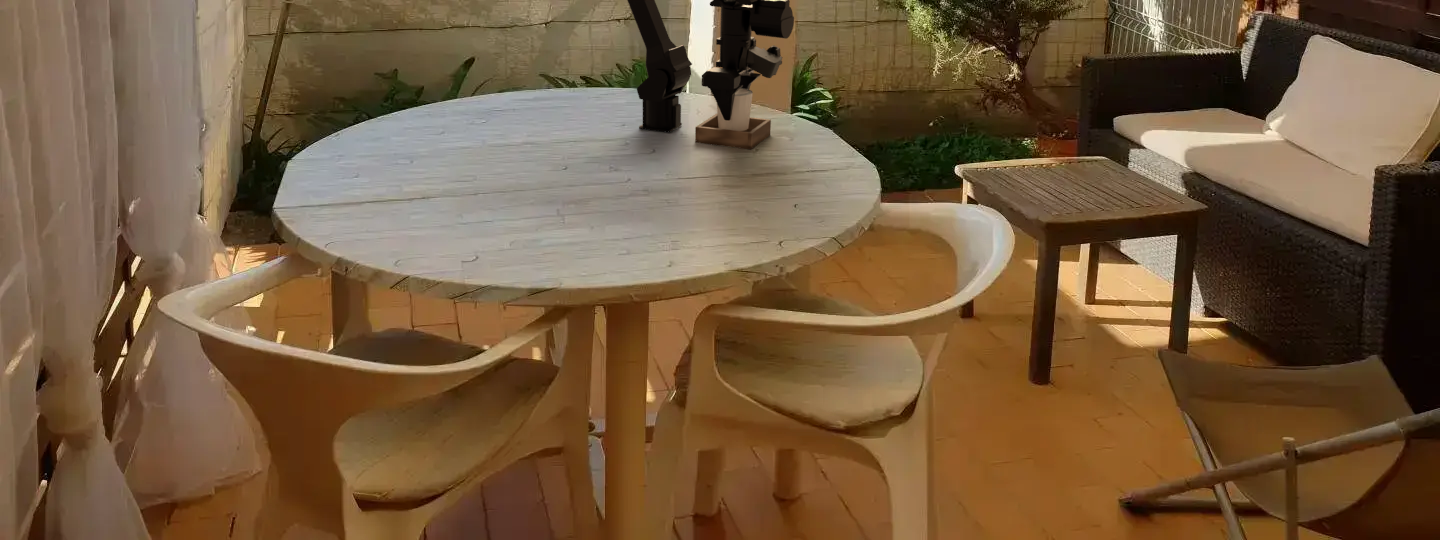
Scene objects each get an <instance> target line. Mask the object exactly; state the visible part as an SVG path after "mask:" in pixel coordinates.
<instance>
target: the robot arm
mask: <svg viewBox="0 0 1440 540" xmlns="http://www.w3.org/2000/svg"><path fill="white" fill-rule="evenodd" d="M626 1H627V3H628V6H629V9H630V11H631V13H632V14H631V15H632V16H633V19H634V21H635V24H636V26H637V29H638V32H639V34H640V36H641V40H642V42H643V44H644V47H645V69H646V74H647V77H646V78H645V79H644V81H643V82H641V84H640V85H638V86H637V88H636V92H637V95H638V98H639V99H640V100H642V124H640V125H639V126H638V129H639V130H644V131H653V132H662V133H671V132H673V131H675V130H676V129H678V128H680V127H682V126H683V125H682V124H683V123H682V105H681V103H680V102H679V101H680V100H679V99H680V98H679V97H680V96H679V94H682V92H683V89H684V86H685V85H687V84H688V82H689V81H690V78H691V76H692V69H691V66H692V65H693V63H692V62H691V61H690V59H689V57H688V54H687V49H686V47H685V45H684V44H682V45H678V46H676V44H675V42H672V40H671V38H670V37H669V34H668V31H667V29H666V26H665V23H664V21H663V18H662V16H661V13H660V11H659V10H660V9H659V8H658V5H657V3H656V1H655V0H626ZM709 6H710V7H715V8H720V23H719V25H720V27H719V28H720V29H719V30H720V31H719V37H717V38H716V41H715V43H716V45H719V59H718V60H716V61H715V67H711V68H709V69H708V70H706V71H705V72H703V73H702V74H701V86H702V87H705V88H708V89H709V91H710V92H711V94H712V96H713V99H714V100H715V102H716V105H717V104H718V107H719V109H720V111H721V113H722V116H723V118H724V120H728V121H729V120H730V119H731V114H732V109H733V103H734V97H735V93H736V92H737V91H738V90H739V89H740V88H745V89H749V90H751V89H750V88H751V85H752V83H753V82H755V81H756V79H758V78H759V77H761V76H762V77H764V78H767V79H771V78H772V77H774V76H776V75H777V73H778V70H779V68H780V66H781V65H782V64H783V57H782V56H781V48H780V47H778V46H777V45H771V46H769V48H767V49H766V48H765V47H763V48H760V47H759V46H757V39H756V38H755V37H754V36H752V32H754V34H755V35H756V36H760V37H769V38H779V39H788V38H790V36H791V34H792V32H793V29H794V22H795V16H794V14H793V9H792V7H790V0H711V1H710V2H709Z"/></svg>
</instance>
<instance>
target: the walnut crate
mask: <svg viewBox="0 0 1440 540" xmlns="http://www.w3.org/2000/svg"><path fill="white" fill-rule="evenodd" d="M771 125H772V119H767V118H759V117H751V116H750V119H749V127H748V129H747V130H744V131H735V130H726V129H719V127H718V114H717V113H715V114H713V115H711V116H710V117H709V118H707V119H706V120H704V121H703V122H700V123H699V124H698V125H696V126H695V128H694V129H695V131H694V132H695V133H694V135H695V138H694V139H695V140H694V143H696V144H702V145H711V144H712V145H713V146H719V147H727V148H729V147H730V148H736V149H746V150H753V149H754V148H755V147H757V146H758V145H760V144H761V143H762V142H763V141H764V140H766V139H767V138H768V137H770V136H771V127H772V126H771Z"/></svg>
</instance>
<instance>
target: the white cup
mask: <svg viewBox="0 0 1440 540" xmlns="http://www.w3.org/2000/svg"><path fill="white" fill-rule="evenodd" d="M752 102H753V90H751V89H745V88H740V89H739V90H738V91H737V92H736V93H735V97H734V103H733V109H732V114H731V119H730V120H729V121H728V120H724V118H723V116H722V113H721V111H720V109H719V107H718V104H717V103H716V111H717V113H716V114H718V127H719V129H726V130H735V131H744V130H747V129H748V127H749V119H750V117H751V108H752Z"/></svg>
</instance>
